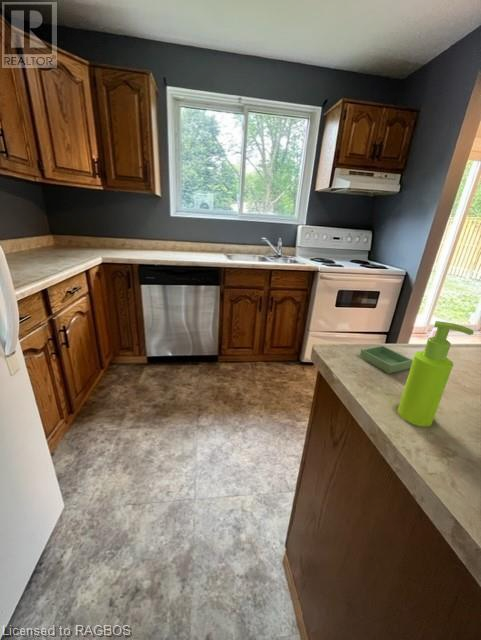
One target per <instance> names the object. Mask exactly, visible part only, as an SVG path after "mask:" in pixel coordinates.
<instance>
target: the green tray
mask: <svg viewBox="0 0 481 640" xmlns="http://www.w3.org/2000/svg"><path fill="white" fill-rule="evenodd" d="M359 358H361V359H363V360H365V361H366V362H368V363H369V364H372V365H373V366H374V367H376V368H377V369H380V370H382V371H383V372H385V373H386V374H393V373H397V372H401V371H404V370H408V369H409V370H410V368H411V365H412V362H413V359H412V358H409V357H408V356H406V355H403V354H401V353H399V352H397V351H395V350H393V349H390V348H389V347H387V346H385V345H378V346H373V347H368V348H363V349H361V350H360V355H359Z"/></svg>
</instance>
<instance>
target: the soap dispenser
mask: <svg viewBox="0 0 481 640" xmlns="http://www.w3.org/2000/svg"><path fill="white" fill-rule="evenodd" d="M434 328H436V331H435V334H434V336H431V337H427V341H426V344H425V346H424V350H422V351H421V350H419V351H417V352H415V353H414V355H413V359H412V360H413V362H412V365H411V368H409V372H408V374H407V375H408V376H407V378H406V381H405V386H404V389H403V392H402V394H401V395H402V396H401V398H400V402H399V405H398V408H397V413H398V415H399V416H400V417H401V418H402V419H404V420H405V421H406V422H407V423H410V424H412V425H415V426H418V427H429V426H431V425H432V424H433V422H434V420H435V416H436V414H437V410H438V408H439V405H440V402H441V401H442V397H443V394H444V391H445V389H446V386H447V383H448V380H449V377H450V375H451V372H452V369H453V366H454V362H453V361H452V360H451V359H449V358H448V354H449V351H450V349H451V345H452V343H451V342H450V341H449V340H448V339H447V338H448V335H449V332H450V331H457V332H460V333H464V334H465V335H468V336H471V335H474V330H473V329H471V328H469V327H467V326H464V325H461V324H457V323H453V322H447V321H439V320H436V321H435V322H434Z"/></svg>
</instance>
